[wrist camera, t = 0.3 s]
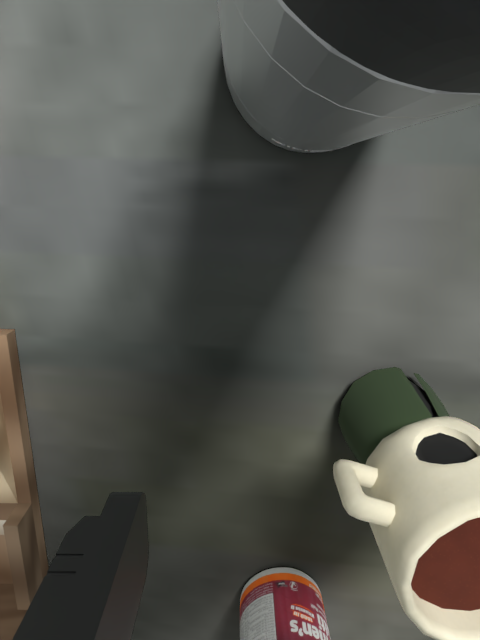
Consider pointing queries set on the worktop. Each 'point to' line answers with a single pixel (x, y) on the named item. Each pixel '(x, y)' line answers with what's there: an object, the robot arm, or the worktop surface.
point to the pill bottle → (282, 607)
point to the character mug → (416, 497)
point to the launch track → (17, 498)
